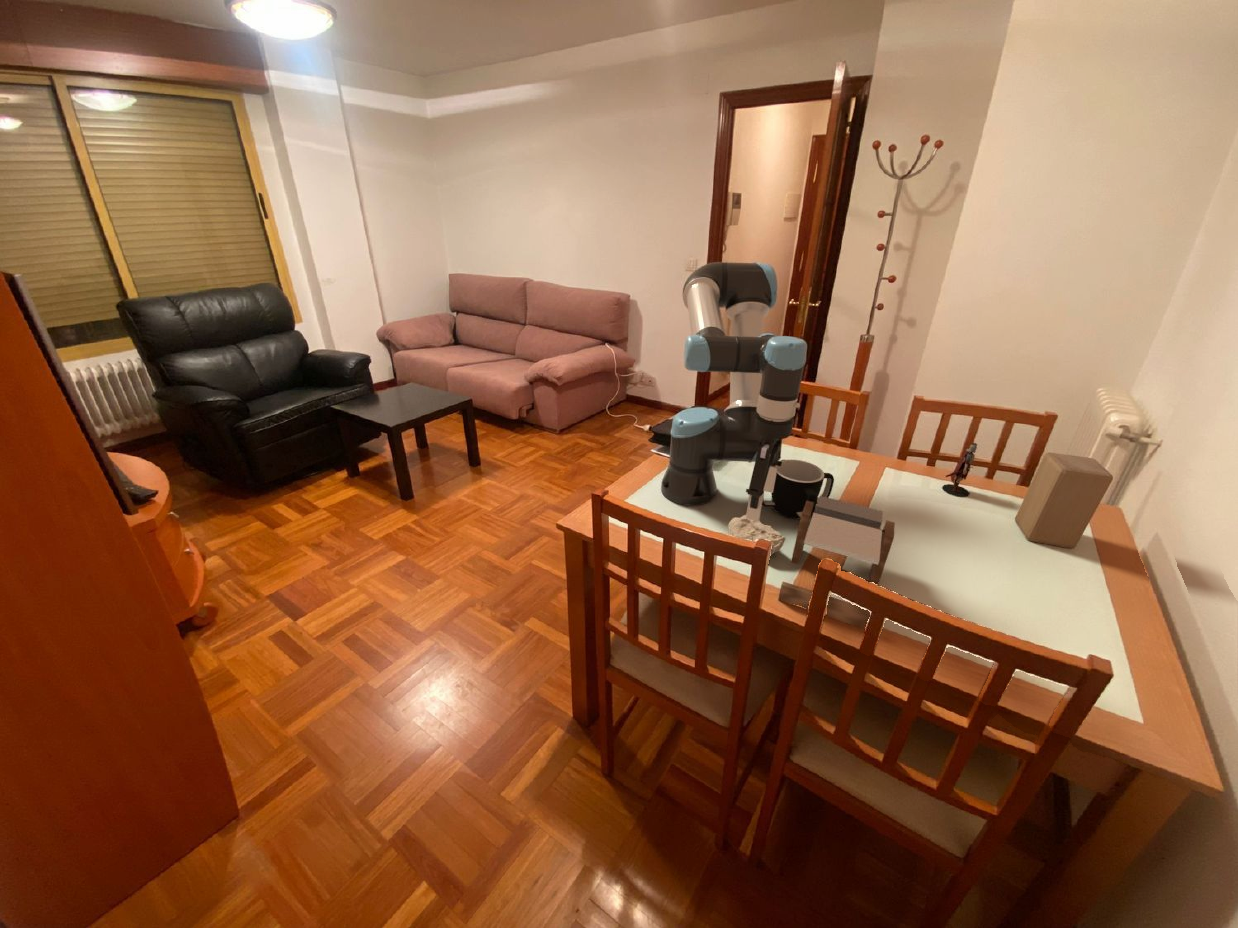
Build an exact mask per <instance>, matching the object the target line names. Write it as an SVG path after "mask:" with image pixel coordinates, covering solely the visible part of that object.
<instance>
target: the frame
mask: <svg viewBox="0 0 1238 928" xmlns="http://www.w3.org/2000/svg"><path fill="white" fill-rule="evenodd" d="M813 505H814V502H810V501H806V504H805V506H804V509H803V512H802V515H801V520H800V519H799V525H798V529H797V534H796V538H795V542H794V547H793V552H792V556H791V561H790V563H792V564H796V565H799V563H800V561H801V558H802V553H803V551H804V547H805V544H804V541H805V538H806V535H807V532H808V528H809V525H810V522H811V519H812V518H811V514H812V515H813V513H815V512H812V509H813ZM817 514H819V513H817ZM821 515H823V514H821ZM825 516H827V515H825ZM828 517H831V516H828ZM810 518H811V519H810ZM832 518H835V517H832ZM836 519H839V518H836ZM840 520H842V519H840ZM844 521H846V520H844ZM848 522H850V521H848ZM852 523H854V522H852ZM856 524H858V523H856ZM860 525H862V524H860ZM863 526H866V525H863ZM867 527H870V526H867ZM871 528H874V527H871ZM875 529H878V528H875ZM879 530H882V537H881V548H880V559H879V563H878V565H877V564H873V563H871V567H870V572H869V578H870V579H868V582H869V581H870V582H874V583H875V584H878V585H879V583H880V580H881V577H882V574H883V571H884V569H885V565H886V562H887V559H888V556H889V554H890V551H891V548H892V545H893V542H894V539H895V538H894V537H895V522H894V521H890V520H885V522H884V526H883V529H881V528H880V529H879ZM813 591H814V590H811V589H808V588H805V587H802V586H798V585H795V584H792V583H789V582H786V581H782V582H781V586H780V590H779V595H778V599H777V601H779V602H782V601H783V603H785V602H787V603H786V604H788V603H791V604H795V605H799V606H802V607H804V608H806V609H805V610H806V611H809V610H808V606H809V601H810V599H811V596H812V592H813ZM851 603H852V602H848V601H845V600H842V599H840V598H837V597H833V596H830V597H829V601H828V605H827V614H826V616H825V617H828V618H831V619H833V620H837V621H840V622H843V623H845V624H849V625H852V626H853V627H858V628H861V629H863V630H866V629H865V627H866V624H867V621H868V619H869V617H870V612H869V611H868V610H864V609H861V608H860V607H858V606H856V605H857V604H856V605H852V604H853V603H852V604H851ZM791 604H790V605H791Z"/></svg>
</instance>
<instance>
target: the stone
mask: <svg viewBox="0 0 1238 928" xmlns="http://www.w3.org/2000/svg"><path fill="white" fill-rule="evenodd" d="M727 527H728V535H729V534H730V535H732V536H734V537H738V538H742V539H749V540H752V541H755V540H756V539H767V540H770V541H771V543H772V549H771V555H770V556H772V555H773V554H774V553H777V552H779V551H780V550H781V548H782V547H783V545H784V543H785V541H786V536H785V535H782V534H781V532H780V531H777V530H775V529H774V528H772V526H771V525H768V524H763V523H762V521H760V520H759V521H754V520H751V519H747V518H746V514H744V515H742V516H741V517H732V518H731V520H730V521H729V523H728V525H727Z"/></svg>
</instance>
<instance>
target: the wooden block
mask: <svg viewBox="0 0 1238 928" xmlns="http://www.w3.org/2000/svg"><path fill="white" fill-rule="evenodd" d="M1113 479H1114V477H1113V474H1111V472H1109V471H1108V470H1107V469H1106V468H1105V467H1104V466H1103V465H1102V464H1101V463H1100V462H1098V461H1097V460H1096V459H1094V458H1093V457H1086V456H1079V455H1072V454H1071V455H1070V454H1065V453H1057V452H1056V453H1055V452H1046V453H1045V454H1044V455H1043V458H1042V459H1041V462H1040V464H1039V466H1038V468H1037V470H1036V472H1035V474H1034V477H1033V479H1032V481H1031V482H1030V486H1029V488H1028V489H1027V491H1026V494H1025V496H1024V498H1023V500H1022V502H1021V504H1020V507H1019V509H1018V510H1017V513H1016V515H1015V517H1014V522H1015V523H1016V525H1017V526H1018V528H1019V530H1020V531H1021V532H1022V534H1023V536H1024V537H1025V539H1026V540H1028V541H1030V542H1033V543H1040V544H1046V545H1051V546H1057V547H1060V548H1061V547H1062V548H1068V549H1074V548H1076V547H1077V546H1078V543H1079V541H1080V540H1081V539H1082V536H1083V534H1084V533H1085V530H1086V529H1087V527H1088V525H1089V524H1090V522H1091V520H1092V518H1093V517H1094V514H1095V512H1096V511H1097V509H1098V507H1099V505H1100V503H1101V502H1102V500H1103V498H1104V496H1105V495H1106V493H1107V491H1108V489H1109V487H1110V485H1111V483H1112V481H1113Z"/></svg>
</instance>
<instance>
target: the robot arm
mask: <svg viewBox="0 0 1238 928" xmlns="http://www.w3.org/2000/svg"><path fill="white" fill-rule="evenodd" d="M777 298H778V278H777V273H776V271H775V269H774V267H773V266H772V265H771V264H768V263H763V262H762V263H761V262H760V263H759V261H758V262H757V261H754V262H728V261H727V262H726V261H725V262H724V261H723V262H722V261H715V262H709V263H707V264H704V265H702V266H699V267H698V268H697V269H696V270H694V271H693V272H692V273H690V275H689V276H688V277H687V279H686V281H685V282H684V284H683V287H682V300H683V304H684V306H685V307H686V309H688V310H687V311H688V318H689V326H690V333H691V335H688V336H687V337H686V339H685V343H684V353H683V354H684V355H683V357H684V359H683V360H684V362H683V363H684V367H685V369H686V370H688V371H692V372H699V373H705V372H709V373H712V372H713V373H729V374H730V376H729V377H730V380H729V385H730V386H729V387H730V388H729V405H728V406H727V407H726V408H725V409H724V410H723V416H722V415H719V413H718V411H717V410H715V409H713V408H708V407H703V406H701V407H699V406H698V407H690V408H686V409H683V410H681V411H679V412H678V413H676V414H675V416H673V419H672V424H671V429H670V436H671V437H670V448H669V462H668V463H669V464H668V466H667V469H666V470H665V473H664V475H663V477H662V479H661V484H660V485H661V486H660V490H661V493H662V495H663V496H664V497H665V498H666V499H668V500H669V501H672V502H673V503H676V504H679V505H683V506H700V505H704V504H705V505H706V504H707V503H710V502H711V501H713V500H714V499H715V497H716V495H717V483H716V482H717V481H716V479H715V474H714V470H713V465H714V461H721V462H746V463H747V462H748V463H754V466H753V470H752V473H751V478H750V482H749V486H748V488H745V493H747V495H748V502H747V506H746V507H747V508H746V514H745V515H746V518H747V519H751V520H754V521H760V518H761V513H762V512H761V511H762V507H763V506H762V501H763V495H764V494H765V492H767V493H770V494H771V493H773V490H774V484H775V479H776V473H777V468H778V467H776V465H777V466H781V464H782V461H781V460H782V459H781V458H782V455H781V454H782V445H783V443H782V442H783V440H785V439H788V438H789V437H791V435H792V432H793V427H794V421H795V419H794V417H795V416H796V415H795V414H796V409H798V408H800V407H801V404H800V403H799V402H798V398H799V396H800V395H799V394H800V389H801V385H802V380H803V373H804V369H805V364H806V362H807V352H808V351H807V350H808V344H807V342H806V341H805V340H804V339H802V338H799V337H795V336H790V335H789V336H787V335H776V334H774V333H770V332H769V333H765V332H764V331H765V326H764V325H765V318H766V317H767V316H768V315H769V314H770V310H771V309H772V308H774V307H775V305H776V302H777ZM720 308H721V309H722V308H723V309H725V317H727V318H728V320H730V335H727V334H726V329H725V325H724V322H723V317H722V313H721V309H720ZM780 459H781V460H780ZM763 491H764V493H763ZM764 496H765V495H764Z"/></svg>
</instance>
